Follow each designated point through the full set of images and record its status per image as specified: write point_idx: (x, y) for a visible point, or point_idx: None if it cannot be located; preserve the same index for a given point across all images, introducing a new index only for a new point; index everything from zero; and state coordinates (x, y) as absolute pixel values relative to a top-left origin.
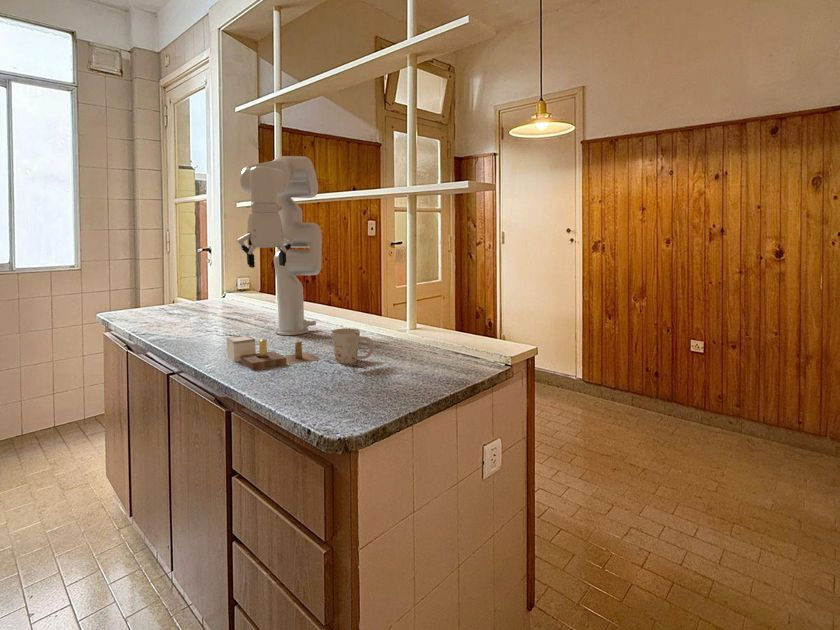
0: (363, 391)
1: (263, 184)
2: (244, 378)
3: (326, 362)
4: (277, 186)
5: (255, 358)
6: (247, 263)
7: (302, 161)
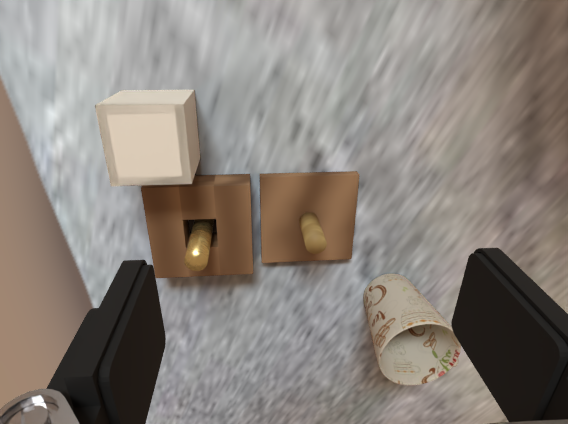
0: None
1: None
2: None
3: (358, 260)
4: None
5: (176, 239)
6: (91, 312)
7: None
